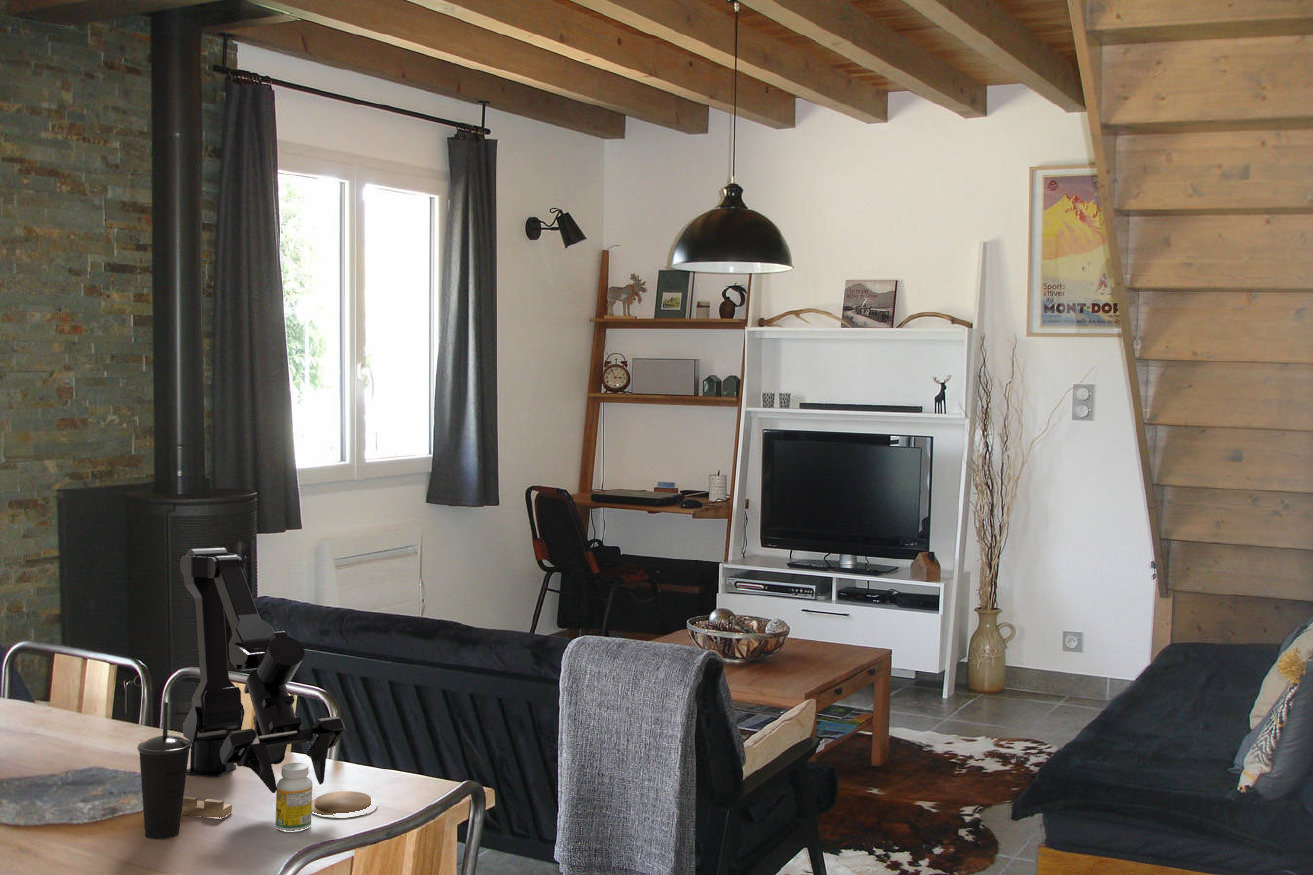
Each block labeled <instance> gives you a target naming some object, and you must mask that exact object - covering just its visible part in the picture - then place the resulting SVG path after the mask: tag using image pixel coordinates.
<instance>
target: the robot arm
mask: <svg viewBox="0 0 1313 875" xmlns="http://www.w3.org/2000/svg"><path fill="white" fill-rule="evenodd" d="M179 565H180V566H179V567H180V568H179V569H180V574H182V576H183V582H184V587H185V588H186V589H187V591H188V592H189V593H190V594H191V595H192V597H193V598H194V601H195V615H196V630H197V631H196V634H197V648H198V649H197V650H198V664H199V677H200V679H199V683H198V686H197V687H196V689H195V692H194V693H193V695H192V697H191V708H190V710H189V712H188V713H187V716H185V717H186V718H185V720H184V721H183V722H182V732H183V733H182V734H183V738H184V739H187V740H189V741H191V743H192V746H191V748H190V754H189V757H190V760H189V762H190V763H189V768H187V773H186V775H193V776H202V777H203V776H204V777H210V778H211V777H212V778H219V777H221V776H222V775H224V774H226V773H228V772H230V771H232V770H234V769H236V768H237V767H239V768H240V767H244V768H249V769H250V770H252V771H253V772H254V774H256V775H257V777H258V778H259V779H260V780H261V782H262V783H263V784H264V785H265V786H266V787H267V788H268V790H269V791H270V792H271V793H272V794H275V793H276V791H277V780H276V777H275V773H274V769H273V765H279V764H281V763H283V761H284V760H285V757H286V755H285V754H286V752H287V751H286V750H287V748H288V745H294V744H299V743H307V744H308V747H309V749H308V751H307V752H306V756H308V757H309V759H310V760H311V765H312V766H313V771H314V774H315V778H316V780H317V783H318V785H323V783H324V782H325V773H326V766H327V764H326V763H327V755H328V754H327V753H328V750H329V749H332V748H333V747H336V745H337V744H338V742H339V741H340V739H341V737H342V736H343V734H344V733H345V731H346V727H345V723H344V720H342V718H341V717H339V716H331V717H330V716H329V717H324V718H323V717H322V718H317V720H316V721H315V723H314V724H313V726H312V727H311V728H307V729H305V728H304V729H301V728H300V727H301V725H302V723H303V721H302V718H301V716H299V717H298V716H297V715H296V713H295V709H294V706H293V704H294V703H295V702H296V700H295V697H294V695H293V694H292V695H290V693H289V691H288V688H287V683H290V681H291V680H292V679H293V677H294V676H295V674H296V672H297V670H298V668H299V667H300V665H301V663H302V661H303V659H304V658H305V648H304V646H303V645H302V644H301V643H300V641H298V640H297V639H295V638H294V637H293V638H292V637H291V636H288V634H287V632H286V631H285V630H283V631H282V630H281V631H275V630H274V628H273V626H272V625H271V624H269V622H268V623H267V622H266V621H265V620H263V619H262V618H261V616H260V614H259V612H258V608H257V607H256V603H255V600H254V598H253V595H252V593H251V589H250V588H249V584H248V582H247V579H246V576H245V574H244V562H243V558H242V557H241V556H239V554H236V553H231V552H228V550H227V549H226V548H225V547H211V548H210V547H209V548H208V547H207V548H206V547H205V548H204V547H203V548H189V549H188V550H187V552H186V554H185V555H182V556H181V558H180V564H179ZM225 615H226V616H225ZM226 618H227V621H228V623H229V626H230V627H229V628H230V629H231V637H230V640H229V643H228V645H227V629H226V628H227V627H226ZM227 646H228V648H227ZM228 651H229V652H228ZM228 654H229V655H228ZM228 656H229V660H228ZM228 661H230V663H231V665H233V667H234V668H235V670H237V671H240V672H243V671H251V670H252V671H251V672H250V674H248V677H247V678H246V680H245V685H244V692H243V693H244V694H246V695H247V694H248V695H249V697H250V700H251V704H252V706H253V710H254V714H255V715H254V716H253V718H252V719H253V725H254V729H253V728H247V729H242V727H243V722H244V719H245V709H244V705H243V702H242V691H241V689H240V687H239V686H235V684H234V682H232V680H231V679H230V675H229V673H230V672H229V662H228Z"/></svg>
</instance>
